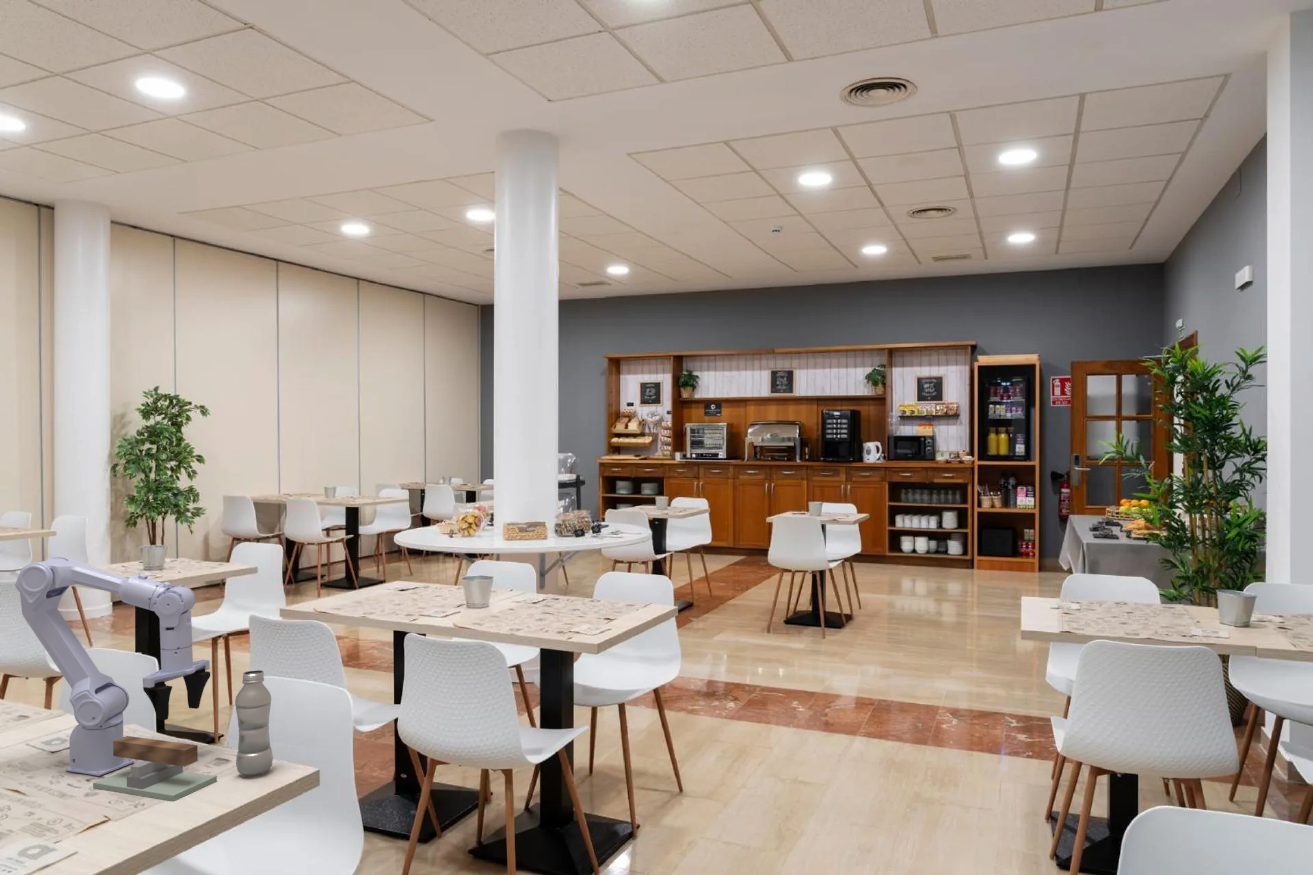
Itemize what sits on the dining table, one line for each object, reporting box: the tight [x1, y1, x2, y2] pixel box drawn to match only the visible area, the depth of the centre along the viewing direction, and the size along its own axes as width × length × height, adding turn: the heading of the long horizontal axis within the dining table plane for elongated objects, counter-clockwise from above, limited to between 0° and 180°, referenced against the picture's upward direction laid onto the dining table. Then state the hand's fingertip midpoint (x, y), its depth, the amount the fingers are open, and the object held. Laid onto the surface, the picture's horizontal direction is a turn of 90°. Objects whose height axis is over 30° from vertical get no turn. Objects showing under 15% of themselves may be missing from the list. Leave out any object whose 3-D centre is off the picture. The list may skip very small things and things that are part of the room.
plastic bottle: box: [234, 669, 274, 777], centre depth 178 cm, size 6×7×20 cm
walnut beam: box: [113, 735, 199, 768], centre depth 173 cm, size 18×3×3 cm, turn 70°
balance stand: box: [92, 760, 218, 802], centre depth 173 cm, size 20×10×5 cm, turn 70°
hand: (178, 713), depth 183 cm, fingers open, 7 cm apart
